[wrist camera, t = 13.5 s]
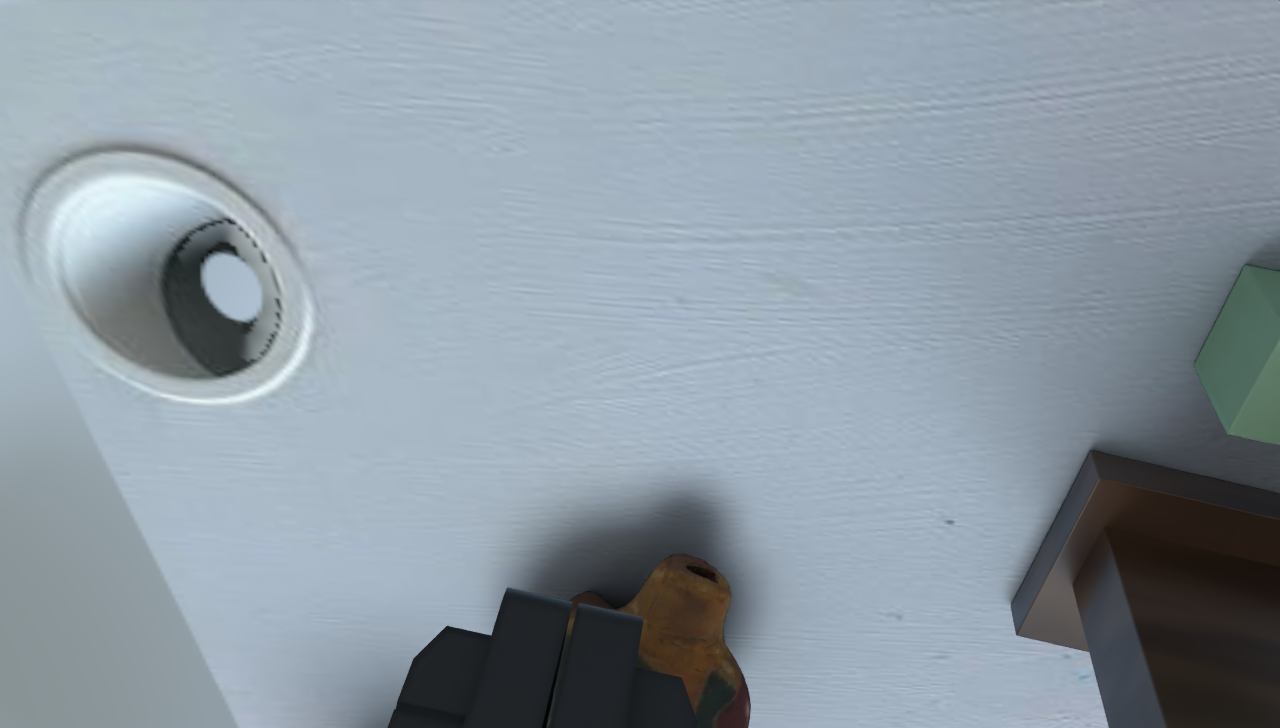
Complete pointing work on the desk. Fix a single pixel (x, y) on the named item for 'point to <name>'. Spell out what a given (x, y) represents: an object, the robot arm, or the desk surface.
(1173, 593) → the walnut upright
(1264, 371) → the sage block
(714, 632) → the multicoloured ceramic rounded body
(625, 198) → the desk surface
